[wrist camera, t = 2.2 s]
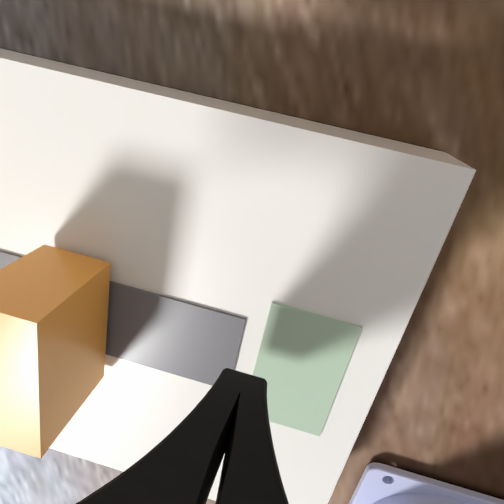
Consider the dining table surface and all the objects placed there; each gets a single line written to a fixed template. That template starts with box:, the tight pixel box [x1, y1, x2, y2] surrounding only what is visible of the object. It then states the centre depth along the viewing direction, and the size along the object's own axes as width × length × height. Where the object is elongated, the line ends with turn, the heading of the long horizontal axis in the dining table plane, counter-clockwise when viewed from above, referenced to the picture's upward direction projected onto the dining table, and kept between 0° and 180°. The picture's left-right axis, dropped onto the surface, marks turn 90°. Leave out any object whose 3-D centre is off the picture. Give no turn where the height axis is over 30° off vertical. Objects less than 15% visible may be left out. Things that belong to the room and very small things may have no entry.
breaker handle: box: [0, 244, 111, 459], centre depth 13 cm, size 2×5×4 cm, turn 168°
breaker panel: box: [0, 48, 476, 504], centre depth 16 cm, size 22×16×3 cm
